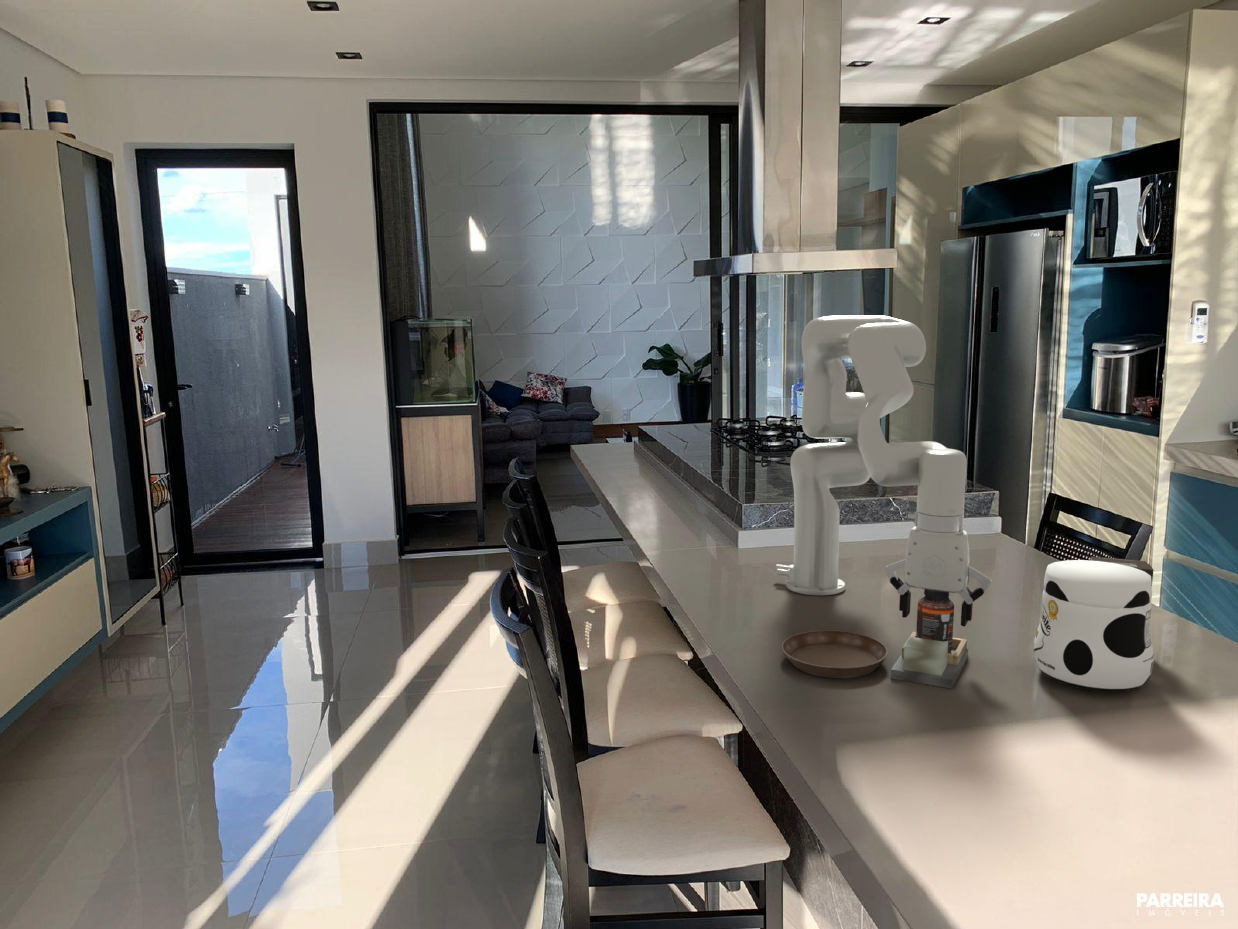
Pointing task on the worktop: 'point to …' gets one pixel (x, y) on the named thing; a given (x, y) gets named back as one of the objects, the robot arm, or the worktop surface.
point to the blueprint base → (929, 677)
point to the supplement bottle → (935, 617)
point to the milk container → (1095, 626)
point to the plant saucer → (834, 653)
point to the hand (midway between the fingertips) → (934, 619)
